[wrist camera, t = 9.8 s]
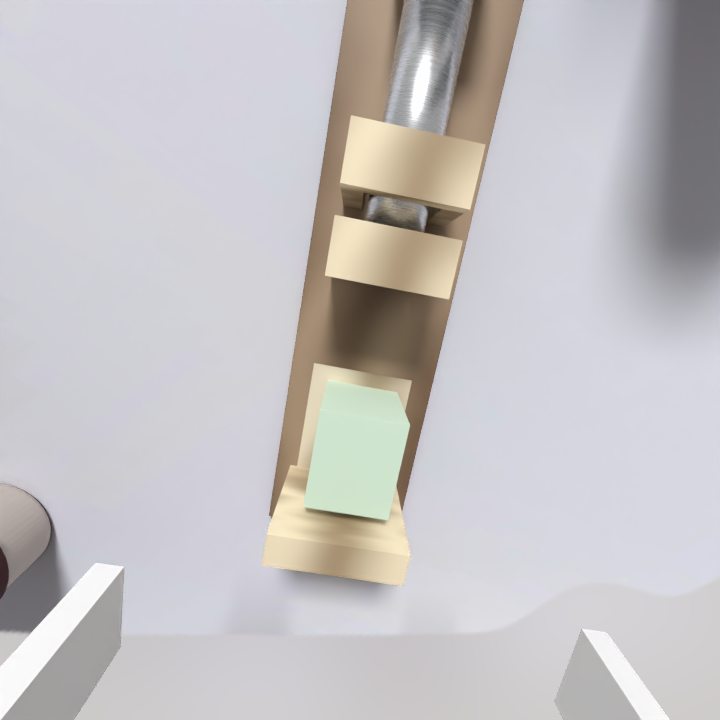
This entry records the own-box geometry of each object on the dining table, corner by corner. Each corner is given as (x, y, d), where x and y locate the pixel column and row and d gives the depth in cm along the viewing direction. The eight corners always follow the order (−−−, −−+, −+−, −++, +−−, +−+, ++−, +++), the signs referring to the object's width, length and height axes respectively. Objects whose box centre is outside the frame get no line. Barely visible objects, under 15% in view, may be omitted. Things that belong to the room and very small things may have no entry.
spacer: (314, 457, 26) (303, 507, 21) (327, 380, 25) (319, 409, 19) (380, 468, 27) (387, 520, 21) (397, 392, 25) (410, 425, 20)
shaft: (343, 279, 24) (340, 278, 19) (405, -78, 20) (422, -199, 15) (417, 293, 24) (433, 296, 19) (493, -57, 20) (538, -167, 15)
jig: (270, 511, 28) (238, 600, 20) (363, -99, 20) (369, -344, 12) (395, 530, 29) (411, 624, 21) (534, -56, 21) (645, -264, 13)
